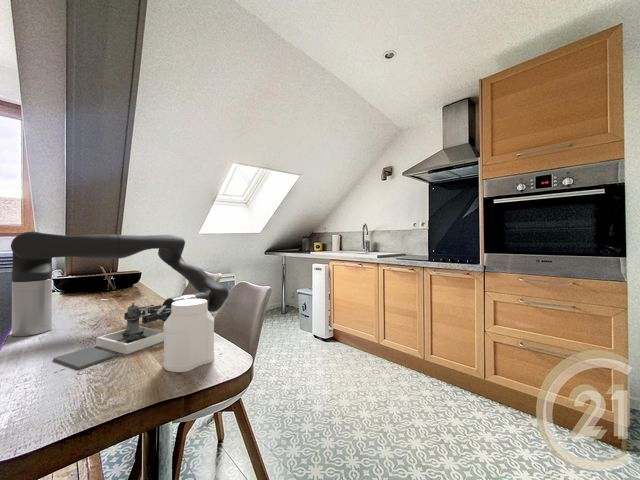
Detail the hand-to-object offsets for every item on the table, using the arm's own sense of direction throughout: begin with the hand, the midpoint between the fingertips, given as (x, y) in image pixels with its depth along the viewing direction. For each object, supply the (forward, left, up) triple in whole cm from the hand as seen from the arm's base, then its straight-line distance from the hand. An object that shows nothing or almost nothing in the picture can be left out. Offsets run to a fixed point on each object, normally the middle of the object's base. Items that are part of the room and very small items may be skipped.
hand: (133, 318), depth 83 cm
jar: (+26, -2, -7) cm, 27 cm away
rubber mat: (0, -12, -7) cm, 14 cm away
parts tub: (0, 0, -7) cm, 7 cm away
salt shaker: (0, 0, -7) cm, 7 cm away
